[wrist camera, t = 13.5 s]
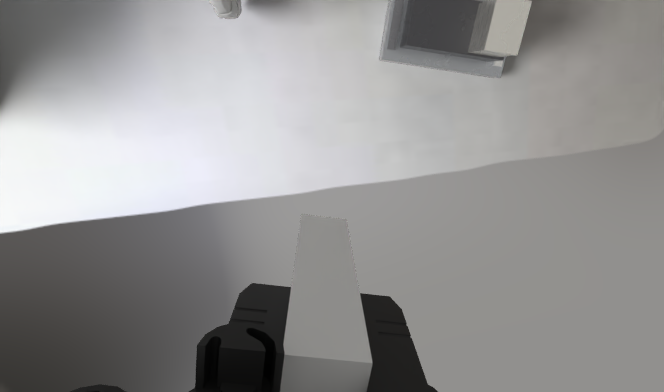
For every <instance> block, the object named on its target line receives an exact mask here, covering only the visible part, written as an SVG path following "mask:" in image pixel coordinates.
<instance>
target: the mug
mask: <svg viewBox="0 0 664 392" xmlns="http://www.w3.org/2000/svg"><path fill="white" fill-rule="evenodd" d="M209 2H210V4H212V5H213V6H214V11H215V13H216V14H217V16H218V17H219V18H225V19H235V18H238V17H239V15H240V13H241V0H209Z"/></svg>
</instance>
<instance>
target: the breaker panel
mask: <svg viewBox="0 0 664 392" xmlns="http://www.w3.org/2000/svg"><path fill="white" fill-rule="evenodd" d="M531 3H532V1H529V0H389V3H388V9H387V15H386V21H385V26H384V32H383V38H382V44H381V50H380V56H379V60H380V61H387V62H393V63H400V64H406V65H413V66H419V67H426V68H432V69H439V70H445V71H452V72H458V73H465V74H471V75H478V76H484V77H491V78H501V74H502V70H503V66H504V63H505V59H506V56H515V55H518V51H519V48H520V44H521V40H522V37H523V33H524V29H525V26H526V22H527V18H528V15H529V11H530V7H531Z"/></svg>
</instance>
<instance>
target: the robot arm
mask: <svg viewBox="0 0 664 392" xmlns="http://www.w3.org/2000/svg"><path fill="white" fill-rule="evenodd" d="M410 336H411V335H410V332H409V329H408V327H407V326H406V320H405V318H404V315H403V312H402V309H401V308H400V307H399V306H398V305H397V304H396V303H395V302H394V301H393V300H392V299H391V298H390V297H389V296H379V295H370V294H361V293H360V291H359V285H358V280H357V274H356V269H355V263H354V258H353V253H352V247H351V241H350V236H349V231H348V225H347V220H346V219H339V218H331V217H322V216H314V215H306V214H301V220H300V227H299V234H298V243H297V249H296V256H295V264H294V271H293V278H292V285H291V287H283V286H274V285H265V284H256V283H252V284H250V285H249V286H248V287H247V288H246V289H245V290H243V291H242V292H241V293H240V294H239V297H238V299H237V302H236V305H235V308H234V310H233V313H232V316H231V318H230V321H229V324H227V325H223V326H220V327H217V328H215V329H214V330H212V331H210V332H209V333H207V334H205V336H204V337H203V338H202V340H201V341H200V342H199V344H198V345H197V360H196V384H195V388H194V389H192V390H191V391H189V392H437V390H435V389H434V388H433V387H431V386H429V385H428V384H427V381H426V378H425V375H424V372H423V369H422V367H421V364H420V361H419V358H418V355H417V352H416V349H415V346H414V344H413V341H412V338H410ZM71 392H125V391H124V390H122V389H121V388H119V387H116V386H108V385H94V386H88V387H82V388H78V389H76V390H73V391H71Z"/></svg>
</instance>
